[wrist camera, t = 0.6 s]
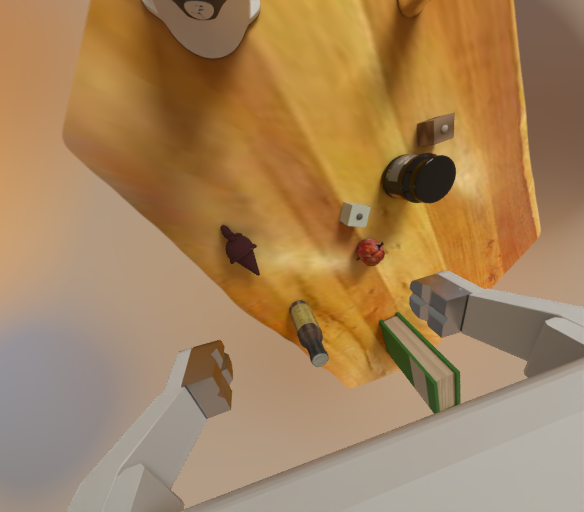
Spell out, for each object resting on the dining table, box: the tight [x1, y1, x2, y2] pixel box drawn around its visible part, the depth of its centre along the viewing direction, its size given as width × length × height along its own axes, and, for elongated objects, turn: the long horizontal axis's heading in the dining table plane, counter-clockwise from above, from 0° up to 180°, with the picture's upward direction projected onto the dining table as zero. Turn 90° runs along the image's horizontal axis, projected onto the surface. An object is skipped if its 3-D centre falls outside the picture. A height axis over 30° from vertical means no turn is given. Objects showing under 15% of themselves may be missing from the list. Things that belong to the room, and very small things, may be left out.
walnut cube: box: [418, 113, 454, 146], centre depth 50 cm, size 5×5×5 cm
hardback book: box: [379, 312, 460, 414], centre depth 68 cm, size 18×7×24 cm, turn 22°
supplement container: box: [382, 153, 456, 203], centre depth 50 cm, size 10×11×12 cm
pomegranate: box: [357, 238, 385, 266], centre depth 59 cm, size 7×7×10 cm
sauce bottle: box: [290, 301, 329, 367], centre depth 56 cm, size 6×6×20 cm
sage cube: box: [340, 202, 371, 227], centre depth 54 cm, size 5×5×5 cm
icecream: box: [221, 225, 260, 276], centre depth 51 cm, size 7×7×15 cm
